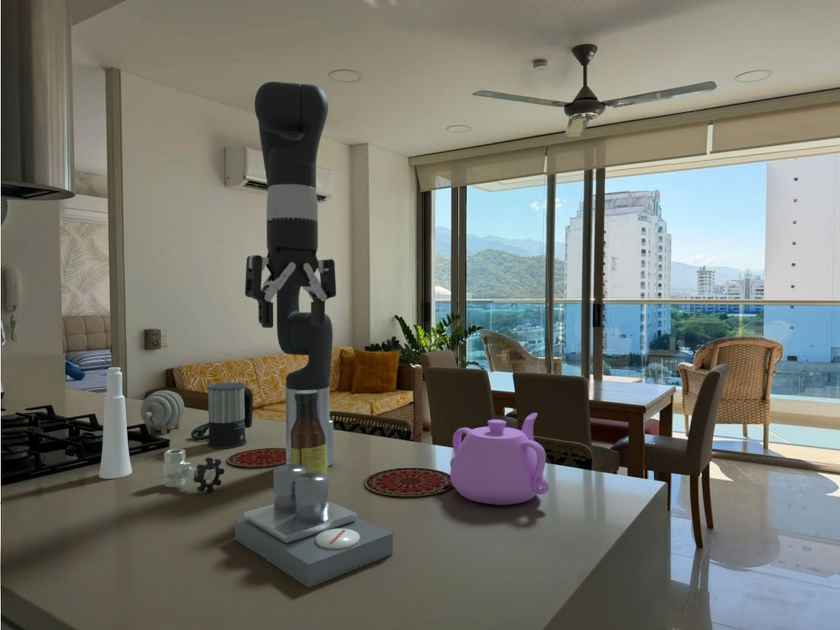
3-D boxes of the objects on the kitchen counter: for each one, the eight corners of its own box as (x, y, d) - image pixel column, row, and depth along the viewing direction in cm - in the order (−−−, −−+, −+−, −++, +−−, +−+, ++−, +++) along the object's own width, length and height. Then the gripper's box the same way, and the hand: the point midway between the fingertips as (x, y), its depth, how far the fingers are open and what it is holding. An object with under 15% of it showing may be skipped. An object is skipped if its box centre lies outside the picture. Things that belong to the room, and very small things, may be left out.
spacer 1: (295, 499, 93) (294, 462, 93) (311, 507, 89) (311, 468, 89) (267, 507, 89) (267, 468, 89) (284, 515, 86) (284, 475, 86)
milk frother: (238, 449, 139) (238, 388, 139) (173, 448, 140) (173, 387, 140) (257, 435, 154) (257, 379, 153) (198, 434, 154) (198, 379, 154)
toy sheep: (193, 424, 166) (192, 386, 166) (169, 439, 149) (168, 396, 149) (155, 424, 166) (155, 386, 166) (127, 439, 149) (127, 396, 149)
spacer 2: (316, 509, 89) (316, 470, 88) (335, 518, 85) (334, 477, 85) (288, 517, 85) (288, 477, 85) (306, 527, 82) (306, 484, 82)
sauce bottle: (334, 498, 106) (333, 389, 105) (317, 510, 100) (316, 395, 99) (302, 494, 108) (302, 387, 107) (283, 506, 102) (283, 393, 101)
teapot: (584, 491, 110) (585, 418, 110) (520, 523, 95) (521, 438, 94) (490, 467, 125) (490, 403, 125) (421, 492, 110) (421, 419, 109)
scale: (313, 515, 97) (313, 494, 97) (392, 554, 83) (392, 529, 83) (235, 539, 88) (234, 516, 87) (308, 587, 73) (308, 559, 73)
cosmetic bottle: (128, 477, 117) (127, 369, 117) (95, 480, 116) (94, 370, 115) (134, 469, 123) (133, 365, 122) (102, 471, 121) (101, 366, 121)
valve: (153, 488, 112) (197, 498, 106) (152, 453, 111) (196, 462, 106) (181, 478, 117) (224, 487, 112) (181, 446, 117) (224, 453, 112)
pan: (312, 499, 96) (312, 493, 96) (356, 519, 87) (356, 513, 87) (244, 518, 87) (244, 512, 87) (286, 543, 79) (286, 535, 79)
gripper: (318, 225, 95) (318, 324, 95) (236, 216, 85) (236, 327, 86) (345, 220, 90) (345, 326, 90) (261, 211, 80) (262, 329, 80)
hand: (292, 326), depth 88 cm, fingers open, 8 cm apart
